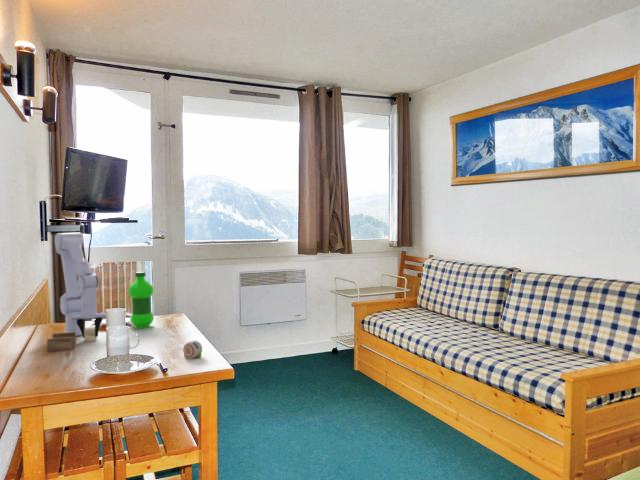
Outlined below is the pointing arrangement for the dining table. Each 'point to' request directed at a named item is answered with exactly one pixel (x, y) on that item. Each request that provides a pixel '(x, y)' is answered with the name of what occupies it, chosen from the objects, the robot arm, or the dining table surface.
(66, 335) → the walnut cradle
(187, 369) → the dining table surface
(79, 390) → the dining table surface
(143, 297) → the plastic bottle
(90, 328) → the birch block
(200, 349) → the roller toy
